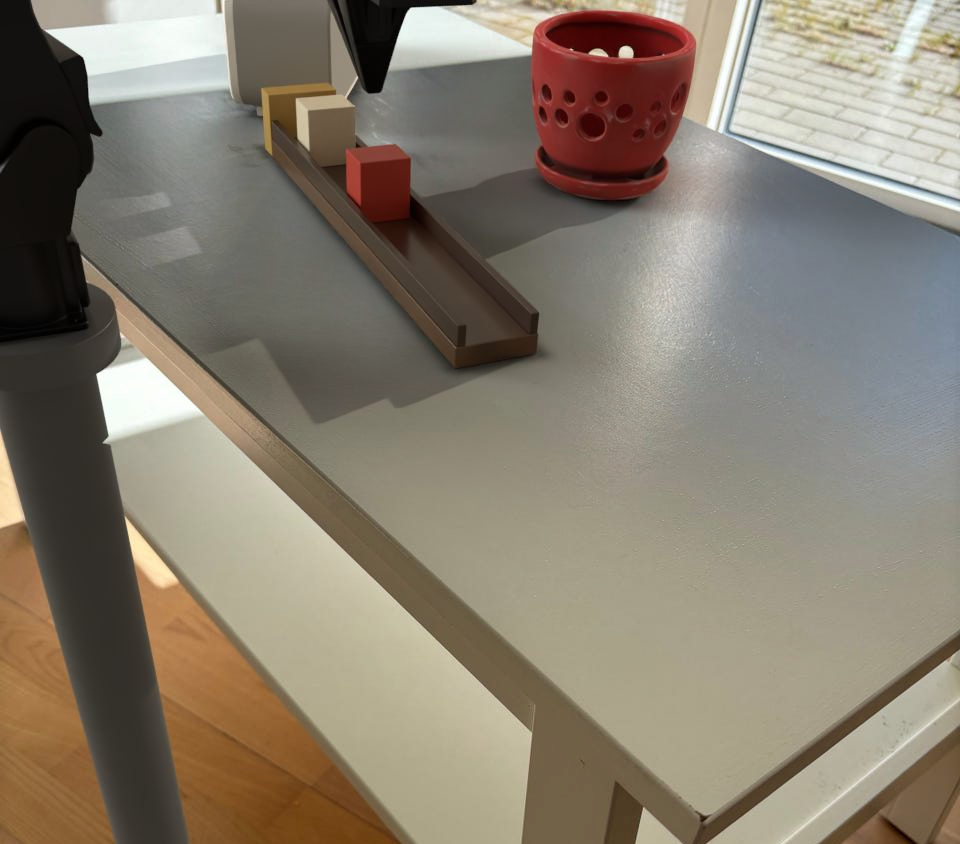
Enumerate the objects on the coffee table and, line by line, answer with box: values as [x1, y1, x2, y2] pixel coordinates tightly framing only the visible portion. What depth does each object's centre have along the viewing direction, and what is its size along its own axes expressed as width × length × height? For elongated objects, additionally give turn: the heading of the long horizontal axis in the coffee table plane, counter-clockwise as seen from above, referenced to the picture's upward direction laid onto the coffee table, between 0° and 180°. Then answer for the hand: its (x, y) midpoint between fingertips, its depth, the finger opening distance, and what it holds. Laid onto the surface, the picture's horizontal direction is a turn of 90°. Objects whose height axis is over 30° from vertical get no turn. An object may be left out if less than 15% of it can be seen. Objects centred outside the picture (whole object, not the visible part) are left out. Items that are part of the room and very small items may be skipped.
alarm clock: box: [222, 0, 359, 117], centre depth 105 cm, size 27×9×12 cm, turn 174°
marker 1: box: [296, 95, 356, 167], centre depth 89 cm, size 4×3×4 cm
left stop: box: [261, 83, 336, 158], centre depth 94 cm, size 6×2×5 cm, turn 116°
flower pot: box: [530, 9, 697, 201], centre depth 91 cm, size 13×13×12 cm
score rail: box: [271, 120, 540, 369], centre depth 82 cm, size 6×38×3 cm, turn 26°
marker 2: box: [346, 143, 412, 223], centre depth 82 cm, size 4×3×4 cm
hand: (372, 91), depth 74 cm, fingers closed
